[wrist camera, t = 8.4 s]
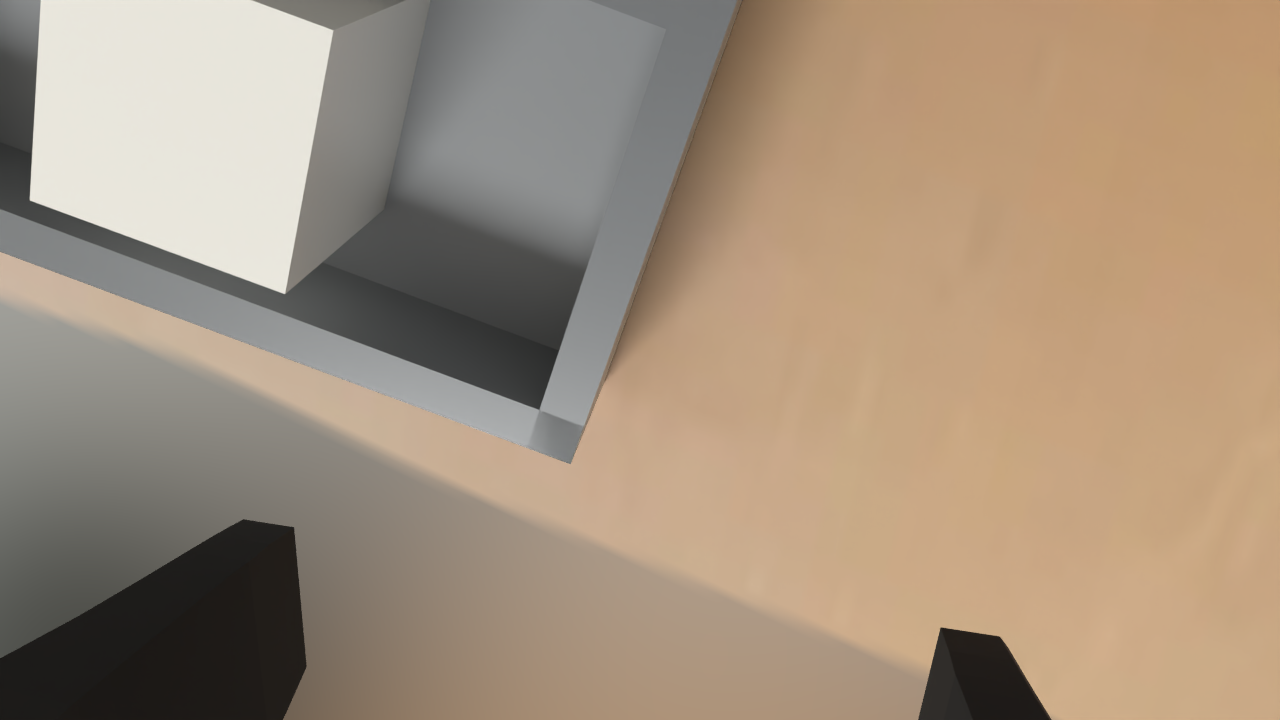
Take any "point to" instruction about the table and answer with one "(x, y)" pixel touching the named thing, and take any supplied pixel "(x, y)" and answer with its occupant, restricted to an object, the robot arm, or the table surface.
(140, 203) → the white block
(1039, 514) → the table surface
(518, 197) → the divided tray
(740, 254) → the table surface
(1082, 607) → the table surface
